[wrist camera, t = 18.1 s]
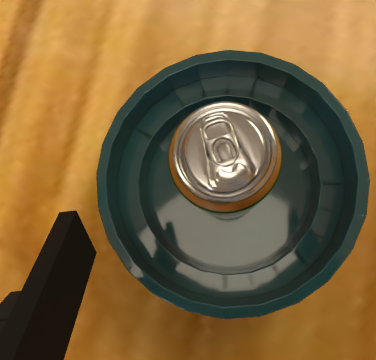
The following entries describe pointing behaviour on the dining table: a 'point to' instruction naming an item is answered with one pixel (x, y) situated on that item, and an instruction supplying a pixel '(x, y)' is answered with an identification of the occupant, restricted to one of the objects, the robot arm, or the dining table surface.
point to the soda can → (225, 158)
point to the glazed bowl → (258, 216)
